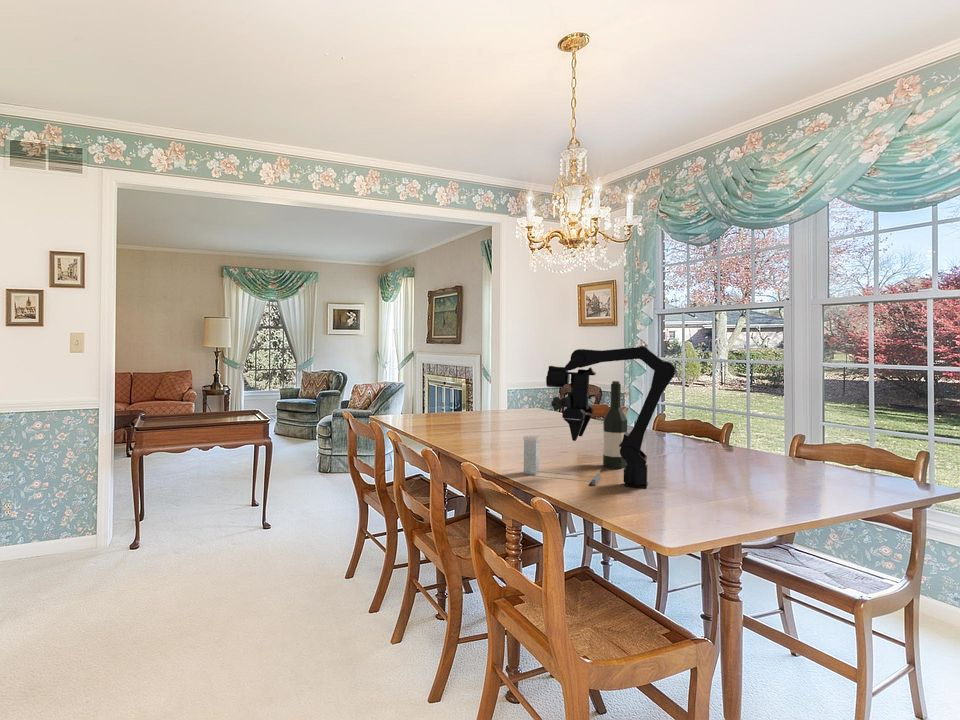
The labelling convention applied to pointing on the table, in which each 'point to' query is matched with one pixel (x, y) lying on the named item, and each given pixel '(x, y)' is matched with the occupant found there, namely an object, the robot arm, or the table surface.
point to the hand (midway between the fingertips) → (577, 438)
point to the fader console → (593, 482)
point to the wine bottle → (614, 430)
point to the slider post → (531, 454)
